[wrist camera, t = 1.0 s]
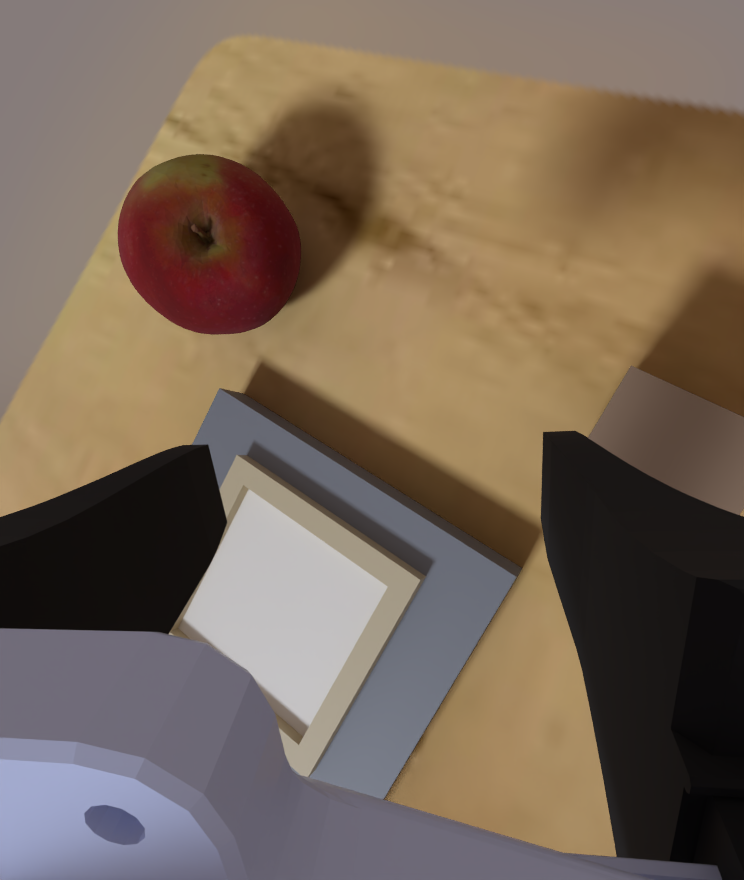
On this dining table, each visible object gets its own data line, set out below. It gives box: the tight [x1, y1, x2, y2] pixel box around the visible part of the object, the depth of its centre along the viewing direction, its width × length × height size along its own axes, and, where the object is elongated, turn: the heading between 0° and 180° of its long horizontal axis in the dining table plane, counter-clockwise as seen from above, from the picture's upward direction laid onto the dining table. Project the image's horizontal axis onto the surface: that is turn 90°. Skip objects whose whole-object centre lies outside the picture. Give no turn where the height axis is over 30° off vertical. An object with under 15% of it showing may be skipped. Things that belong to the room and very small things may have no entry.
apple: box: [118, 154, 301, 334], centre depth 25 cm, size 8×8×8 cm
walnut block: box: [588, 366, 744, 515], centre depth 19 cm, size 4×4×6 cm
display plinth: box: [169, 388, 522, 800], centre depth 26 cm, size 16×14×3 cm
